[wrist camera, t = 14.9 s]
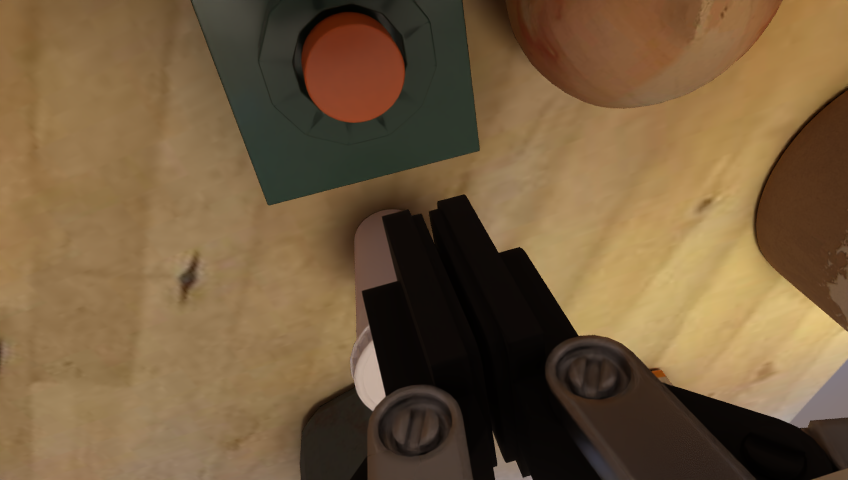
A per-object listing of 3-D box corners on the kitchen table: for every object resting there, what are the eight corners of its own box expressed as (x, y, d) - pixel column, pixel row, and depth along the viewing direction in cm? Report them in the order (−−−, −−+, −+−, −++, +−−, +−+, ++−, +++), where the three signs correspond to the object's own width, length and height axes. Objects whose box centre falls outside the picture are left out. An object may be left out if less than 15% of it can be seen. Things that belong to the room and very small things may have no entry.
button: (289, 23, 22) (291, 37, 20) (386, 1, 22) (395, 13, 20) (315, 115, 24) (319, 133, 22) (403, 93, 24) (413, 110, 23)
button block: (163, -100, 22) (147, -87, 18) (429, -156, 23) (459, -153, 19) (267, 183, 29) (268, 227, 26) (466, 131, 30) (492, 169, 26)
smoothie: (341, 297, 34) (385, 534, 22) (315, 201, 30) (353, 428, 19) (451, 270, 34) (547, 487, 23) (440, 174, 31) (548, 375, 19)
